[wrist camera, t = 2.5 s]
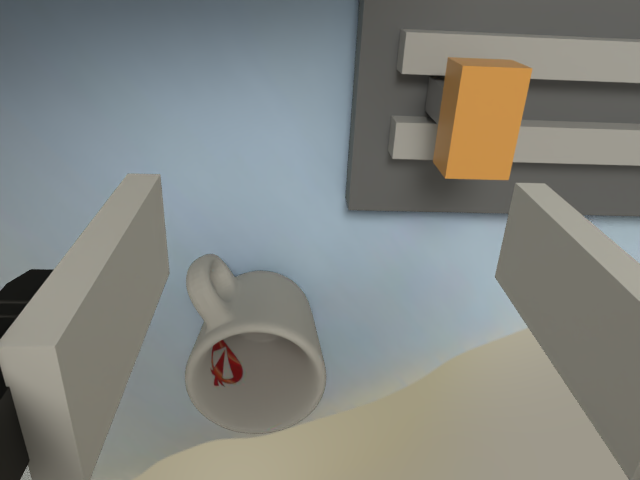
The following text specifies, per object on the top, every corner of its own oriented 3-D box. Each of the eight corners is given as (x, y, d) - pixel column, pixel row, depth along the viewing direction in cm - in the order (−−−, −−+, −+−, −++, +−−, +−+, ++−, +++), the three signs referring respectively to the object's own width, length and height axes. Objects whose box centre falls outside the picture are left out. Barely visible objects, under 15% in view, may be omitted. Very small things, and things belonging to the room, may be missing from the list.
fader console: (345, 197, 34) (351, 220, 31) (363, -55, 28) (372, -57, 25) (791, 207, 36) (838, 230, 33) (901, -26, 30) (972, -25, 27)
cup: (155, 256, 36) (121, 329, 28) (259, 199, 34) (251, 261, 27) (244, 367, 40) (234, 454, 33) (339, 321, 39) (351, 401, 31)
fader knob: (415, 138, 31) (444, 178, 25) (427, 45, 28) (462, 65, 23) (467, 140, 31) (508, 179, 25) (483, 48, 29) (532, 68, 23)
